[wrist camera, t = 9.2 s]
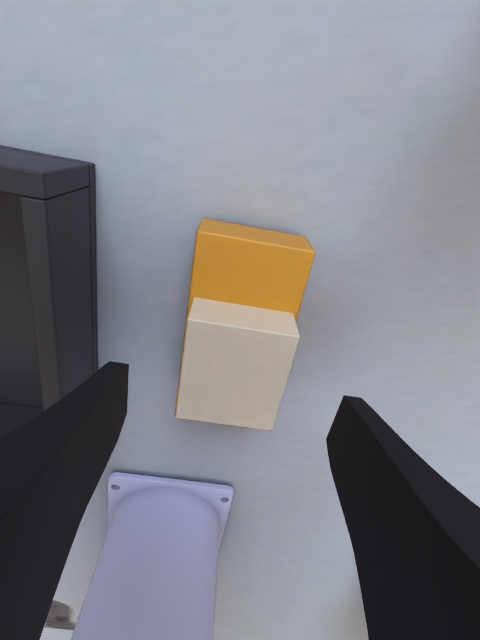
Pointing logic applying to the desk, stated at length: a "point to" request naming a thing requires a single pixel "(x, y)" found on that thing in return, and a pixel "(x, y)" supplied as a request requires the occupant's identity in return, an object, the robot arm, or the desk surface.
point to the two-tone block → (241, 323)
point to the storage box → (45, 281)
